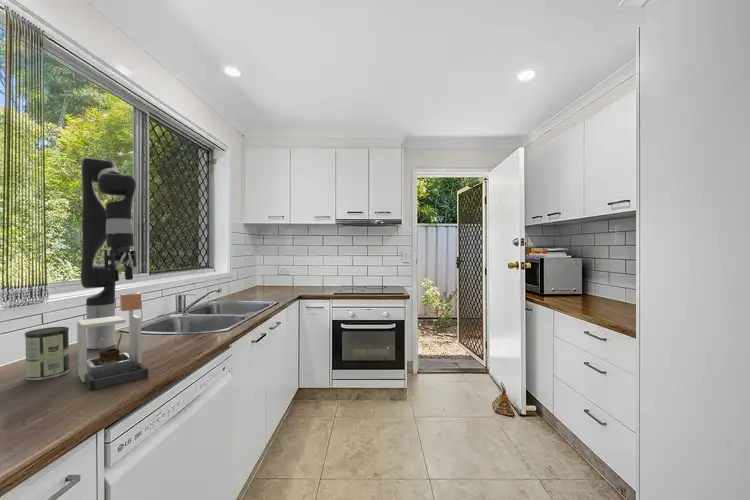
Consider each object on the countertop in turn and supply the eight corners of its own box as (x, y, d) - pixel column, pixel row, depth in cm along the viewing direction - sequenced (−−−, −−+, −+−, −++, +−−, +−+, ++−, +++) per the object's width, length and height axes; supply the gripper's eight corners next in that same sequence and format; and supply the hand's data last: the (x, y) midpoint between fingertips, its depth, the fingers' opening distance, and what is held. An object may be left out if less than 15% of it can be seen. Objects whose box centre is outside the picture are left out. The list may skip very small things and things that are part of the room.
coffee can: (49, 368, 119) (48, 326, 119) (78, 369, 118) (77, 326, 118) (15, 380, 109) (14, 333, 109) (46, 381, 108) (45, 334, 108)
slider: (85, 370, 115) (84, 294, 115) (132, 361, 125) (131, 290, 124) (92, 379, 107) (91, 297, 107) (142, 369, 116) (141, 293, 116)
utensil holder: (101, 370, 117) (100, 333, 117) (124, 367, 119) (123, 331, 119) (95, 376, 112) (94, 338, 111) (119, 373, 114) (119, 335, 114)
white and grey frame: (77, 374, 114) (77, 320, 113) (133, 363, 124) (133, 313, 124) (83, 382, 107) (82, 325, 106) (141, 369, 117) (141, 317, 117)
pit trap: (85, 382, 107) (85, 374, 107) (140, 370, 117) (140, 362, 117) (90, 390, 100) (90, 381, 100) (148, 377, 111) (148, 369, 110)
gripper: (120, 234, 129) (122, 280, 129) (94, 232, 115) (96, 282, 115) (142, 233, 130) (144, 278, 130) (119, 230, 116) (122, 281, 116)
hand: (122, 280), depth 122 cm, fingers open, 8 cm apart
